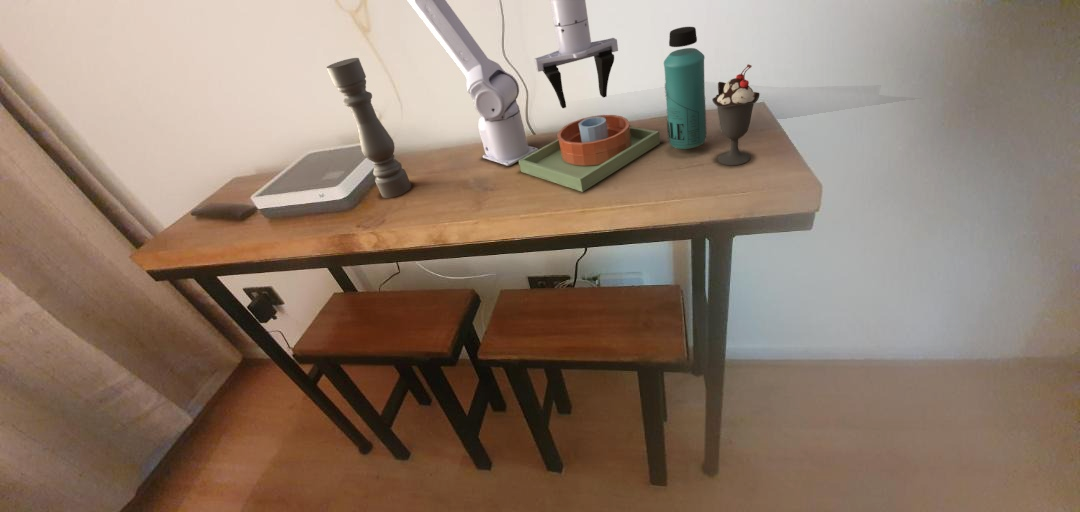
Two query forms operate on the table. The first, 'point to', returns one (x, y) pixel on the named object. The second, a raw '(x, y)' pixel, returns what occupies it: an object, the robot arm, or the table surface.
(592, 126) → the pale blue cup
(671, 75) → the beverage bottle
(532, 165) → the tray
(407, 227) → the table surface
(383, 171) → the candle holder
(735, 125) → the sundae
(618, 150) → the big bowl
